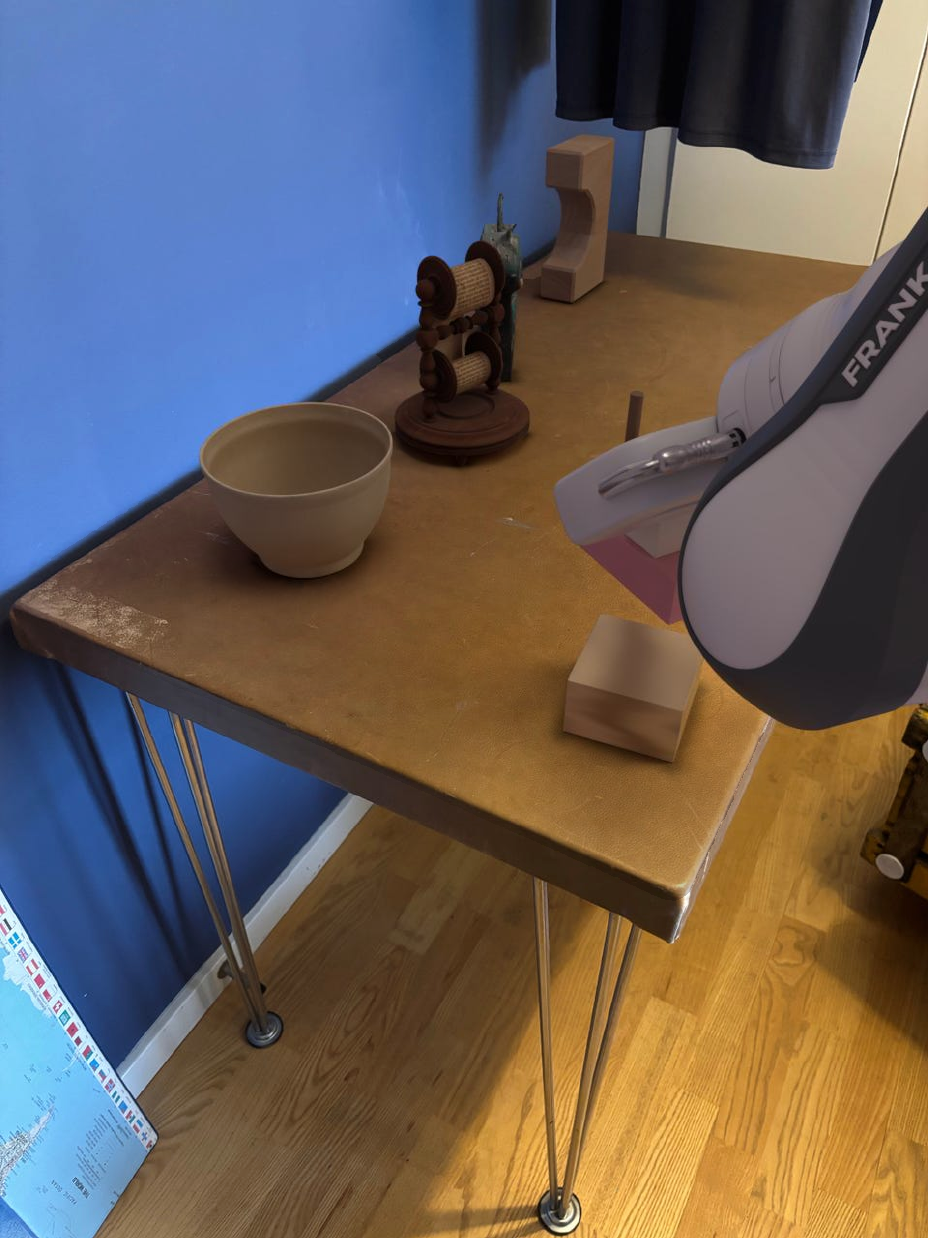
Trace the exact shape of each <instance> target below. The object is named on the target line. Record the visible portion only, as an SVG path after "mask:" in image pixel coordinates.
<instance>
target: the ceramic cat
mask: <svg viewBox="0 0 928 1238" xmlns="http://www.w3.org/2000/svg"><path fill="white" fill-rule="evenodd" d="M504 196H505V194H504V192H502V193H501V192H500V193H498V199H497V203H496V204H497V205H496V206H497V207H496V213H497V216H496V223H489V222H487V223H485V224H484V226H483V228H482V231H481V235H480V237H479V240H478V241H480V240H482V241H487V242H489V243H490V244H492V245H493V246H494V247H495V248H496V249H497V251H498V252H499V254H500V256H501V258H502V260H503V263H504V267H505V283H504V287H503V289H502V291H501V299H500V301H499V302H498V303H500V304H501V305H502V306H503V308H504V312H505V313H504V317H503V319H502V321H501V322H500V323H501V324H500V326H498V331H499V334H500V342H499V344H498V347H499V348H500V349H501V351H502V361H503V368H502V373H501V376H500V380H501V382H511V381H512V379H513V367H514V356H515V342H516V341H515V340H516V322H517V304H518V291H520V290H521V289H523V287H524V282H523V276H524V274H523V273H524V272H523V263H522V261H523V260H522V249H521V248H522V247H521V237H520V236H519V235H518V234H517V233H513V232H514V229H516V228H517V224H518V222H515V223H513V224H511V225H510V224H509V223H504V222H503V221H504V219H503V210H502V205H503V204H502V202H503V199H504ZM474 242H475V241H473V242H472V243H474ZM483 309H484V307H481V308H479V309H476V310H473V311H474V313H476V312H478V311H483ZM486 323H487V322H486ZM486 323H485V324H484V325H481V326H477V328H478V330H477V331H481V332H484V333H487V334H488V330H489V326H487V324H486Z"/></svg>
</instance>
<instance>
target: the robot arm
mask: <svg viewBox="0 0 928 1238" xmlns="http://www.w3.org/2000/svg"><path fill="white" fill-rule="evenodd" d="M552 489H553V491H552V492H553V493H552V494H553V501H554V503H555V507H556V511H557V513H558V516H559V520H560V522H561V524H562V527H563V529H564V531H565V534H566V536H567V538H568V539H569V541H570V543H572V544H574V545H575V546H579V547H580V546H585V545H590V544H593V543H597V542H600V541H603V540H607V539H610V538H613V537H616V536H619V535H623V534H626V533H629V532H632V531H635V530H639V529H642V528H645V527H648V526H651V525H654V524H658V523H661V522H664V521H667V520H670V519H674V518H677V517H680V516H683V515H686V514H689V513H693V514H692V517H691V519H690V521H689V524H688V526H687V529H686V532H685V535H684V538H683V541H682V545H681V550H680V555H679V562H678V575H677V583H678V597H679V604H680V608H681V613H682V616H683V620H682V621H683V623H684V625H685V628H686V630H687V633H688V635H690V637H691V639H692V641H693V642H694V644H695V646H696V647H697V649H698V650H699V652H700V653H701V655H702V656H703V658H704V660H705V662H706V664H707V665H709V667H710V668H711V669H712V670H713V672H714V673H715V674H716V675H717V676H718V677H719V678H720V680H721V679H722V681H723V682H724V683H725V684H726V685H727V686H728V687H729V688H730V689H732V690H733V691H734V692H735V693H736V694H738V695H739V696H740V697H741V698H743V699H744V700H745V701H746V702H748V703H749V704H751V705H752V706H754V707H755V708H756V709H758V710H759V711H760V712H762V713H764V714H765V715H767V716H768V717H770V718H771V719H774V720H775V721H777V722H778V723H780V724H782V725H784V726H787V727H789V728H792V729H796V730H799V731H800V730H801V731H807V732H808V731H811V732H815V731H822V730H827V729H832V728H835V727H838V726H842V725H846V724H850V723H853V722H857V721H862V720H865V719H869V718H872V717H877V716H880V715H884V714H887V713H892V712H894V711H896V710H899V708H902V707H908V706H914V705H921V704H922V705H923V704H927V703H928V206H927V207H926V208H925V209H924V211H922V213H921V215H920V217H919V218H918V219H917V221H916V222H915V224H914V225H913V227H912V228H911V230H910V231H909V233H908V234H907V235H906V237H905V238H904V239H902V240H901V241H899V242H898V243H896V244H895V245H893V246H892V247H891V248H889V249H888V250H887V251H885V252H884V253H882V254H881V256H878V258H877V259H875V261H873V262H872V263H871V264H870V265H869V267H867V269H866V270H865V271H864V272H863V274H862V275H861V276H860V278H859V279H858V280H857V281H856V283H855V284H854V285H853V286H852V287H851V288H849V289H848V290H845V291H842V292H838V293H835V294H833V295H830V296H826V297H824V298H822V299H820V300H818V301H816V302H814V303H812V304H810V305H809V306H808V307H806V308H805V309H804V310H802V311H801V312H799V313H798V314H796V315H795V316H794V317H792V318H791V319H789V320H788V321H787V322H785V323H783V324H782V325H781V326H780V327H778V328H777V329H775V330H774V331H773V332H771V333H770V334H769V335H767V336H765V337H764V338H763V339H762V340H760V341H759V342H757V343H756V344H754V345H753V346H751V347H750V348H749V349H747V350H746V351H744V352H743V353H742V354H741V355H739V356H738V357H737V358H736V359H735V360H734V361H733V362H732V364H731V365H730V366H729V368H728V369H727V371H726V373H725V374H724V377H723V379H722V381H721V384H720V386H719V391H718V396H717V402H716V414H715V415H711V416H708V417H703V418H701V419H696V420H692V421H689V422H685V423H682V424H677V425H674V426H671V427H667V428H663V429H660V430H659V429H658V430H656V431H652V432H650V433H646V434H643V435H640V436H639V437H637V438H635V439H632V440H630V441H627V442H625V441H624V442H623V443H621V444H618V445H616V446H614V447H613V448H611V449H609V450H606V451H605V452H602V453H601V454H600V455H599V454H598V456H596V457H595V458H593V459H591V460H588V462H586V463H584V464H583V465H581V466H579V467H577V468H576V469H574V470H573V471H571V472H570V473H568V474H566V475H564V476H563V477H562V478H560V479H559V480H558V481H557V482H556V483H555V484H554V486H553V488H552Z"/></svg>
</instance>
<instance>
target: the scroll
mask: <svg viewBox="0 0 928 1238" xmlns="http://www.w3.org/2000/svg"><path fill="white" fill-rule="evenodd" d="M479 240H480V239H479ZM479 240H476V241H473V242H474V243H473V242H472V243H471V244H470V245H469V246H468V248H467V250H466V253H465V257H464V263H460V264H456V265H454V266H450V265H449V264H448V263H447V262H446V261H445V260H444V259H443V258H441V257H439V256H438V255H428V256H425V257H424V258H422V260H421V261H420V263H419V265H418V267H417V272H416V285H415V287H414V291H415V295H416V297H417V298H418V299H419V301H417V306H418V307H420V310H419V311H420V312H419V316H418V324H419V326H420V327H419V328H418V329H417V331H416V333H415V342H416V345H417V346H418V347H419V351H420V352H421V357H420V360H419V364H418V365H419V368H418V369H419V378H418V382H419V386H420V387H421V388H422V389H423V390H421V391H419V392H417V393H415V394H413V395H411V396H409V397H408V398H406V399H404V400H403V402H401V403H400V404H399V406H398V407H397V408H396V410H395V413H394V427H395V431H396V433H397V435H398V436H399V438H400V439H402V440H403V441H404V442H405V443H407V444H408V445H410V446H411V447H414V448H416V449H418V450H422V451H425V452H429V453H434V454H439V455H443V456H444V455H445V456H455V457H456V461H457V463H458V465H460V466H464V465H465V463H466V461H467V458H468V456H475V455H484V454H490V453H494V452H497V451H501V450H503V449H507V448H508V447H512V446H513V445H515V444H517V443H518V442H519V441H521V440H522V439H523V438H524V437H525V436H526V435H527V433H528V432H529V429H530V427H531V425H530V424H531V421H530V420H531V414H530V413H531V412H530V410H529V408H528V406H527V404H525V402H524V401H523V400H521V399H520V398H519V397H517V396H515V395H514V394H512V393H509V392H507V391H505V390H503V389H500V388H499V387H500V385H501V383H502V381H501V380H500V376H501V373H502V368H503V361H502V351H501V349H500V348H499V347H498V344H499V342H500V334H499V331H498V326H500V324H501V323H500V322H501V321H502V319H503V317H504V313H505V312H504V308H503V306H502V305H501V304H500V303H498V302H499V301H500V299H501V291H502V289H503V287H504V283H505V267H504V263H503V260H502V258H501V256H500V254H499V252H498V251H497V249H496V248H495V247H494V246H493V245H492V244H490V243H489V242H487V241H482V240H480V241H479ZM481 307H484V309H483V311H478V312H476V313H475V312H474V313H473V314H472V315H471V316H470V315H465V314H467V313H470V312H473V311H474V310H476V309H479V308H481ZM486 322H487V323H486ZM485 323H486V324H487V326H489V330H488V334H487V333H484V332H481V331H479V330H477V331H474V332H471V333H470V334H469V335H468V337H467V338H466V340H465V343H464V348H463V340H464V339H463V338H464V334H466V333H467V332H468V331H471V330H472V329H473V328H474V326H477V327H478V326H481V325H484V324H485ZM463 349H464V355H463Z"/></svg>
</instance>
